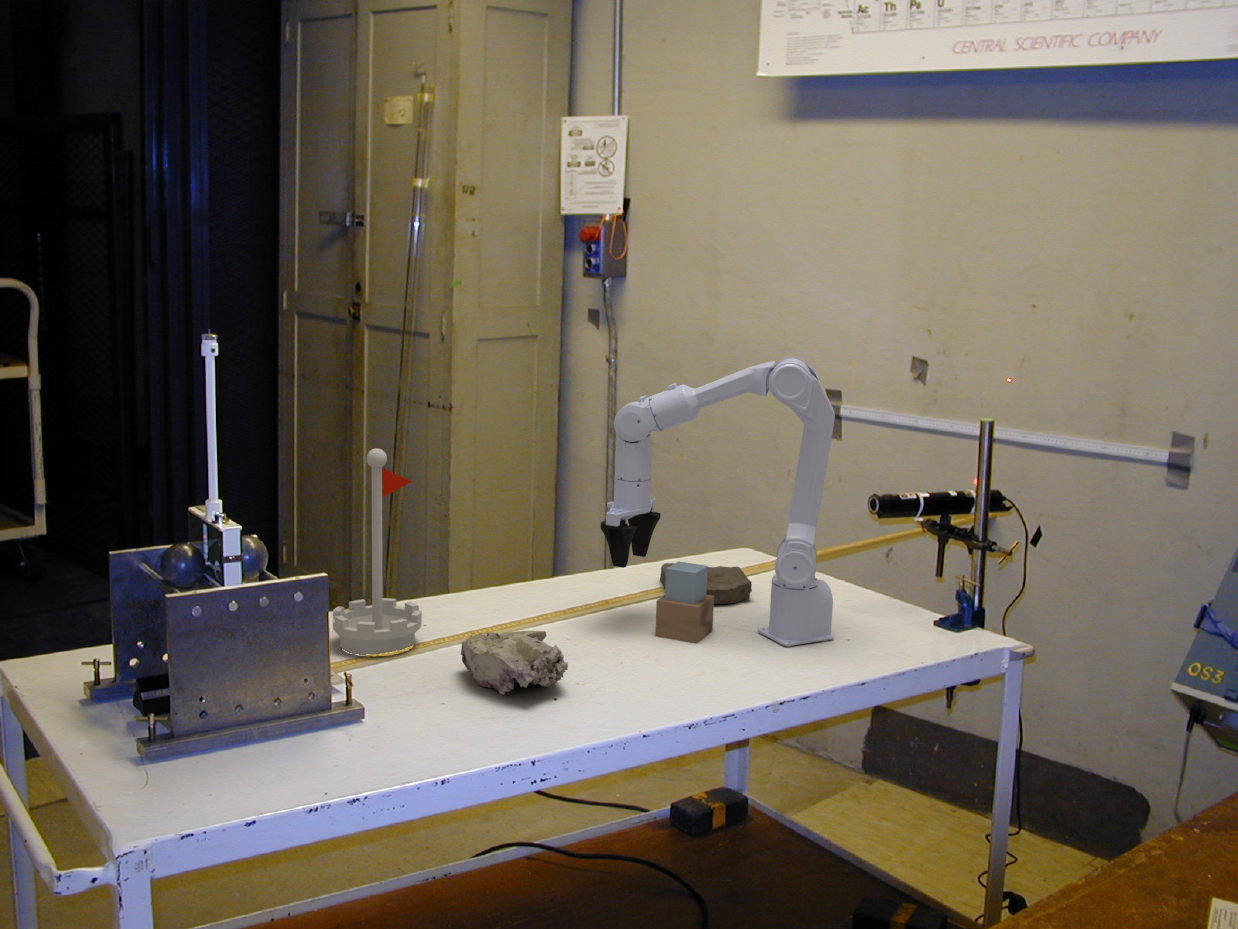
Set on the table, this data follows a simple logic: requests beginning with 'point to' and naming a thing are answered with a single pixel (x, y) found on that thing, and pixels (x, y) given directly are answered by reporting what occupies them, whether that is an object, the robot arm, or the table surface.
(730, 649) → the table surface
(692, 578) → the slate cube
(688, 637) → the wood grain block
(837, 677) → the table surface
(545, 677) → the geode
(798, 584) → the robot arm
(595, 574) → the table surface
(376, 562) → the flag stand
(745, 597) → the flat brown rock
